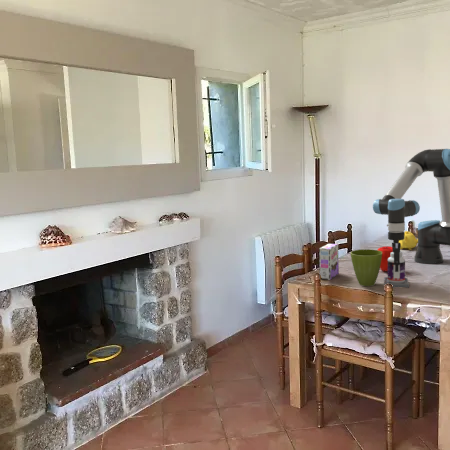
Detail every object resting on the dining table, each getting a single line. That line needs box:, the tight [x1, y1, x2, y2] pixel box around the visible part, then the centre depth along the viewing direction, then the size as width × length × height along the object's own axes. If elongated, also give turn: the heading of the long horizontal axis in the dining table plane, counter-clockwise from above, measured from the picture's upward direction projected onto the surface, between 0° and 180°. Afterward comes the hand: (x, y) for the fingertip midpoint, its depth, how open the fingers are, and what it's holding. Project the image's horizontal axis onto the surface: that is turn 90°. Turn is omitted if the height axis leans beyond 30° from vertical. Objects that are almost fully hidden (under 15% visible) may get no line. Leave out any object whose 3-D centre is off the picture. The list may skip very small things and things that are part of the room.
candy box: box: [318, 243, 340, 281], centre depth 265 cm, size 14×6×16 cm, turn 148°
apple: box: [377, 246, 393, 272], centre depth 271 cm, size 12×12×13 cm
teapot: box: [399, 230, 418, 251], centre depth 324 cm, size 20×18×11 cm
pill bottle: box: [386, 251, 406, 283], centre depth 245 cm, size 8×8×14 cm
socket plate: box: [383, 276, 410, 289], centre depth 246 cm, size 11×11×2 cm
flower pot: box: [350, 248, 382, 287], centre depth 248 cm, size 15×15×16 cm
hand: (396, 274), depth 245 cm, fingers open, 13 cm apart
